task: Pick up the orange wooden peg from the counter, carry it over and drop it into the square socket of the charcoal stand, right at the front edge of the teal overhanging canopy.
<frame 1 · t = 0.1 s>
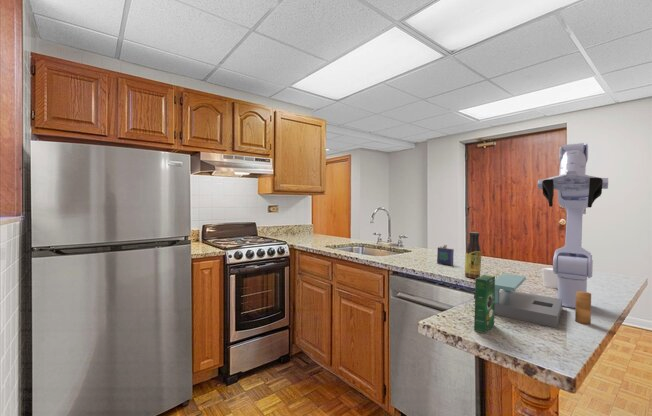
hand: (569, 204, 77), 32 cm above the worktop, tool tilted 50°, fingers open, 7 cm apart
peg: (582, 322, 84), on the worktop
sauce bottle: (472, 277, 136), on the worktop
socket stand: (526, 310, 92), on the worktop
flask: (444, 264, 166), on the worktop
coffee box: (484, 328, 78), on the worktop
white cube: (551, 287, 122), on the worktop
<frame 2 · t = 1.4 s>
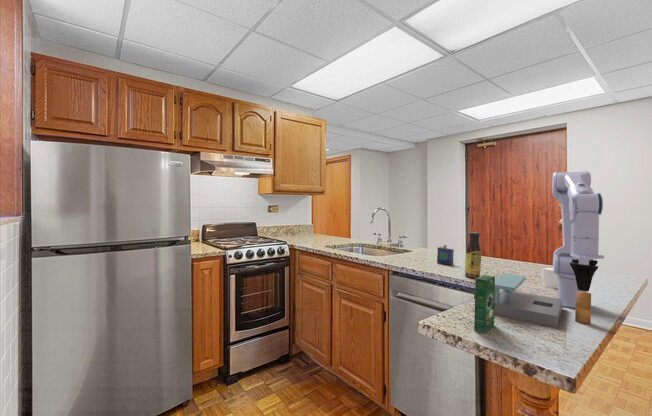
hand: (583, 287, 83), 9 cm above the worktop, tool pointing down, fingers open, 7 cm apart
nothing on the worktop moved.
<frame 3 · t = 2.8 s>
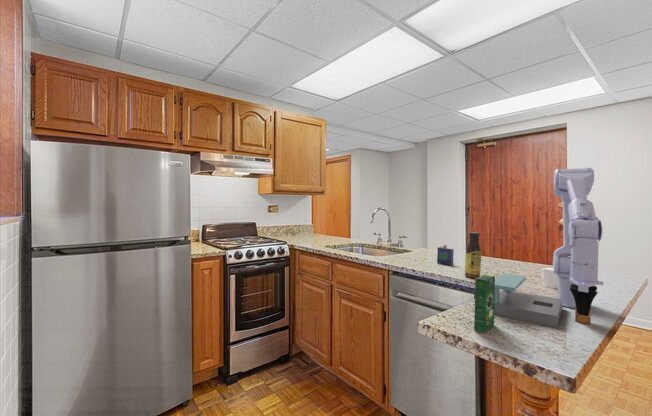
hand: (583, 313, 84), 2 cm above the worktop, tool pointing down, fingers closed on peg, 3 cm apart
peg: (582, 322, 84), on the worktop, touching gripper
everything else where it was.
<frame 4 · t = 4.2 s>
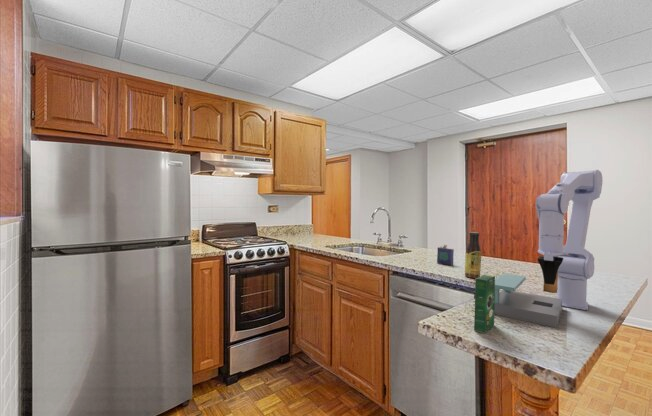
hand: (549, 282, 88), 9 cm above the worktop, tool pointing down, fingers closed on peg, 3 cm apart
peg: (550, 291, 88), point 7 cm above the worktop, touching gripper
everything else where it was.
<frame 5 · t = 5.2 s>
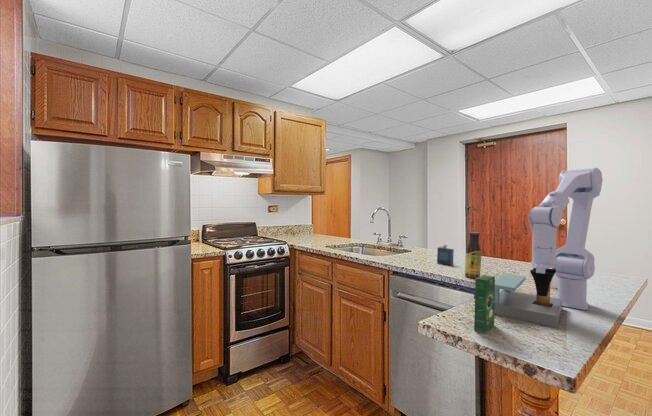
hand: (542, 294, 89), 6 cm above the worktop, tool pointing down, fingers closed on peg, 3 cm apart
peg: (542, 302, 89), point 3 cm above the worktop, touching gripper
everything else where it was.
when the fingers open (4 cm above the worktop, at t = 6.0 s): peg drops 1 cm, resting in socket stand.
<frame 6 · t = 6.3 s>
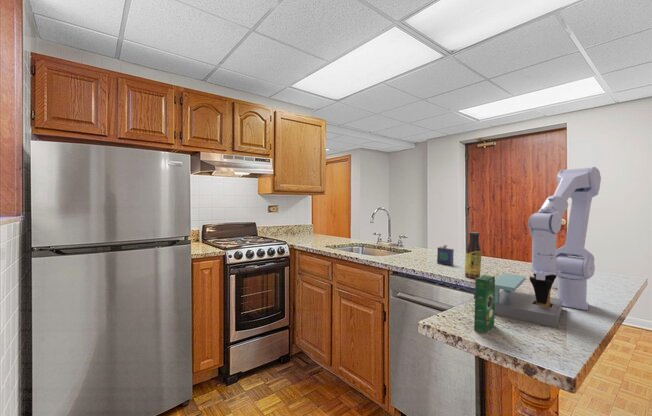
hand: (542, 300, 89), 4 cm above the worktop, tool pointing down, fingers open, 6 cm apart
peg: (542, 314, 89), resting in socket stand
everything else where it was.
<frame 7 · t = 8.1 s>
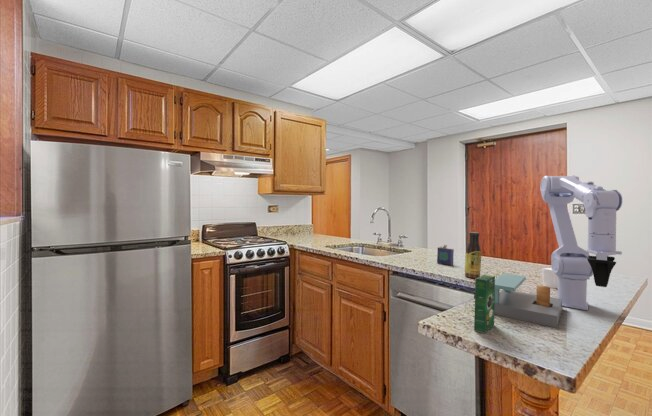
hand: (600, 284, 84), 10 cm above the worktop, tool pointing down, fingers open, 7 cm apart
nothing on the worktop moved.
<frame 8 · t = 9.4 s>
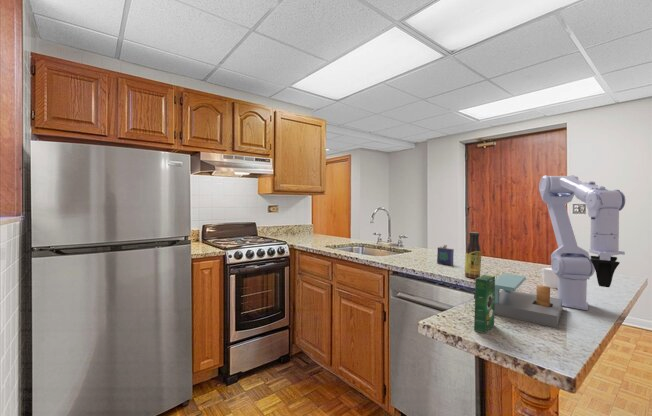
hand: (603, 284, 84), 10 cm above the worktop, tool pointing down, fingers open, 7 cm apart
nothing on the worktop moved.
at the end: peg 0.0 cm from the target spot on the socket stand, point 0.0 cm above the socket stand's base; peg tilted 0°; the gripper is holding nothing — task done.
